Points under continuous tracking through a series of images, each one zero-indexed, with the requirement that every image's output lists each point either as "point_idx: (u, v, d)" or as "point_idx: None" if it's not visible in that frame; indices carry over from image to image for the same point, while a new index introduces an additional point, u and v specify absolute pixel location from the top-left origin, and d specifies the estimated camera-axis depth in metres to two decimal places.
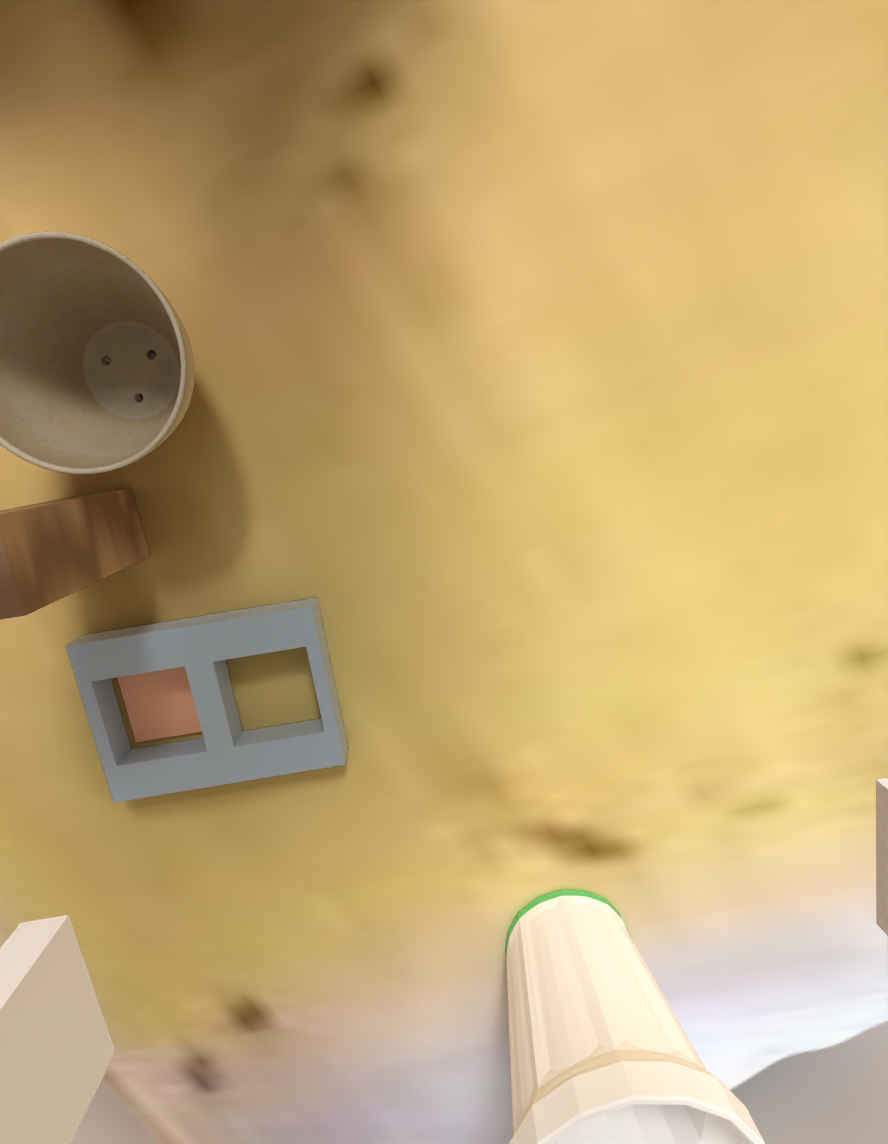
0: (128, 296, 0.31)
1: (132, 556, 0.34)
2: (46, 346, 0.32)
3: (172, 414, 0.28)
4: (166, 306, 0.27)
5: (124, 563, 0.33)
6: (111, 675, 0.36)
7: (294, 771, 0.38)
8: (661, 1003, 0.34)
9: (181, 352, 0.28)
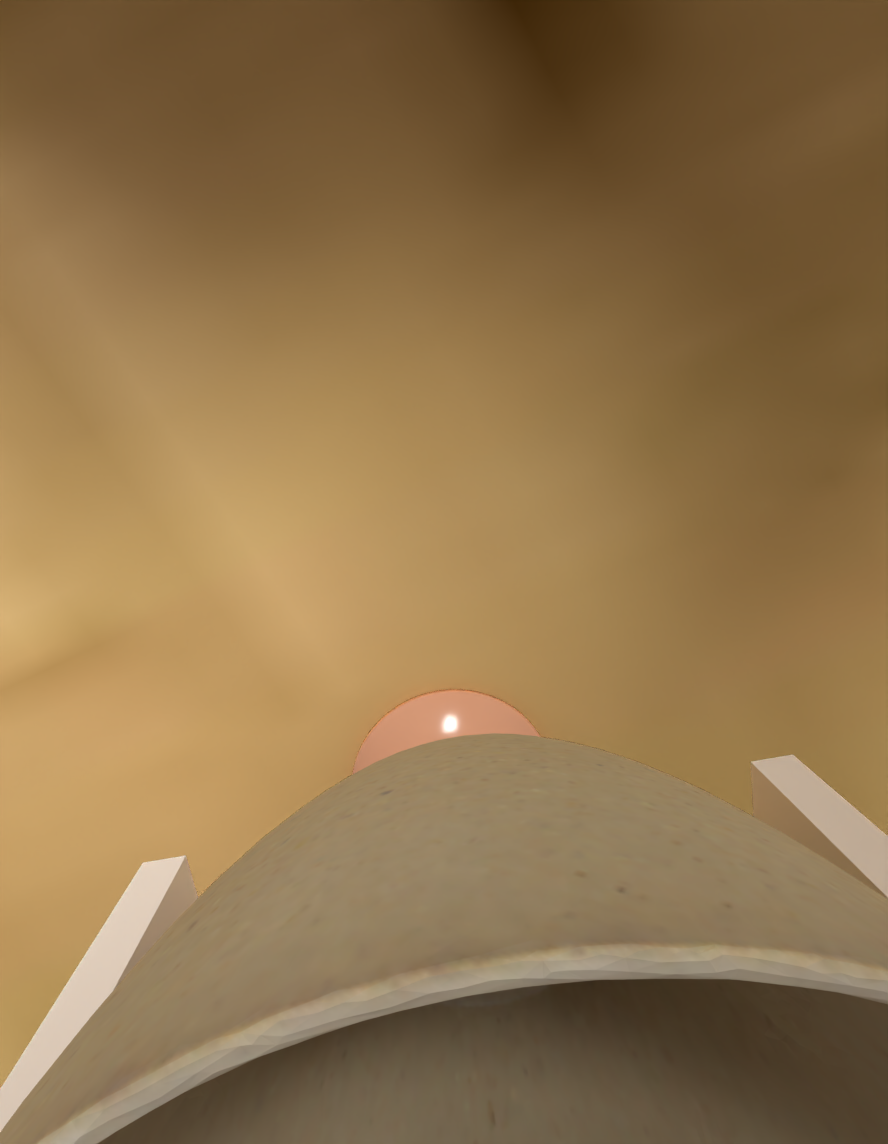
0: None
1: None
2: None
3: None
4: None
5: None
6: None
7: None
8: None
9: None
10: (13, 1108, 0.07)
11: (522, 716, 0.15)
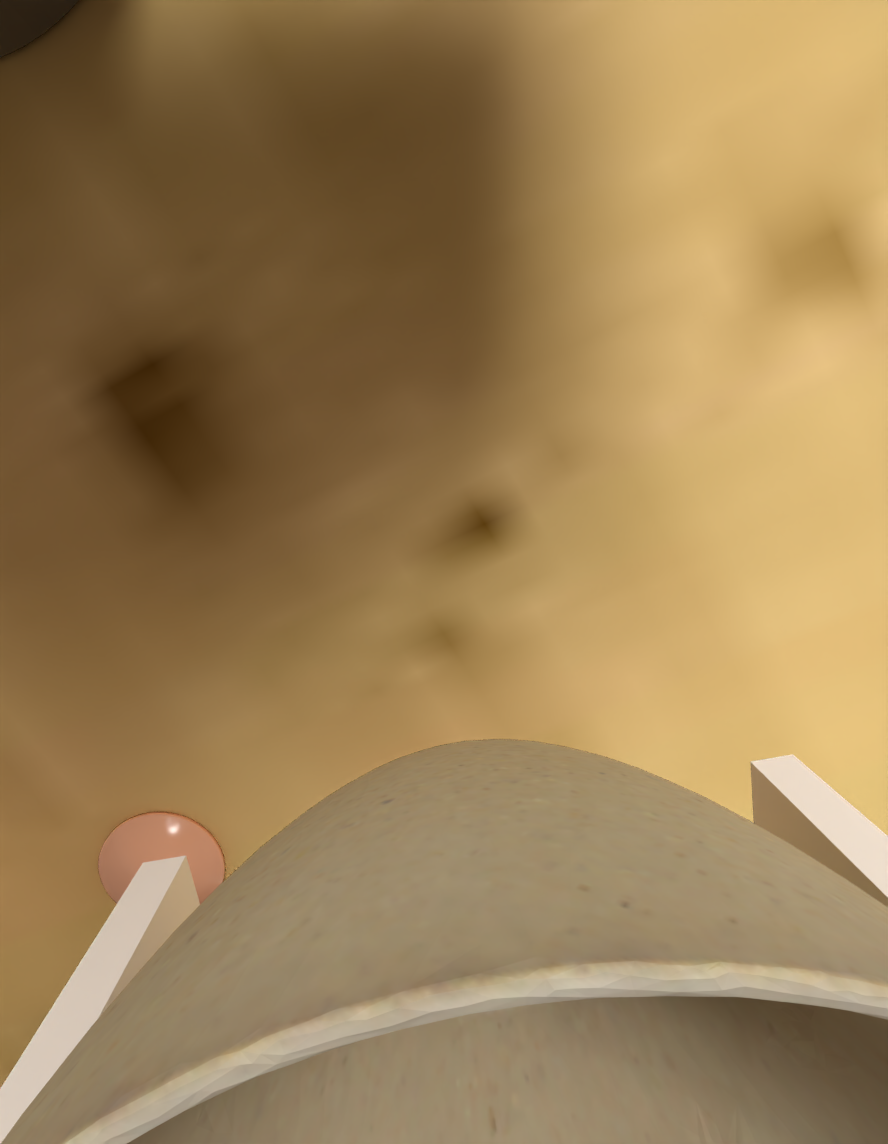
0: None
1: None
2: None
3: None
4: None
5: None
6: None
7: None
8: None
9: None
10: (13, 1108, 0.07)
11: (199, 828, 0.25)
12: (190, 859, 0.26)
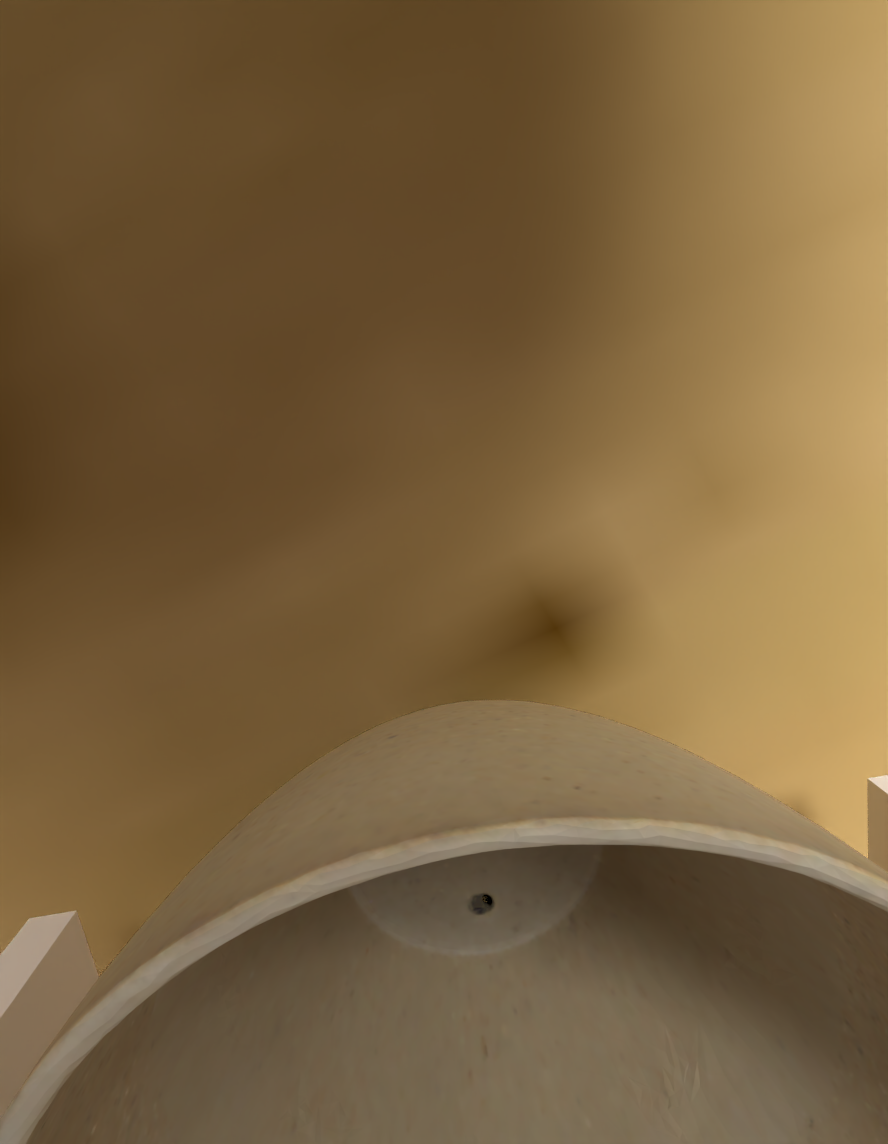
0: None
1: None
2: None
3: None
4: None
5: None
6: None
7: None
8: None
9: None
10: None
11: None
12: None
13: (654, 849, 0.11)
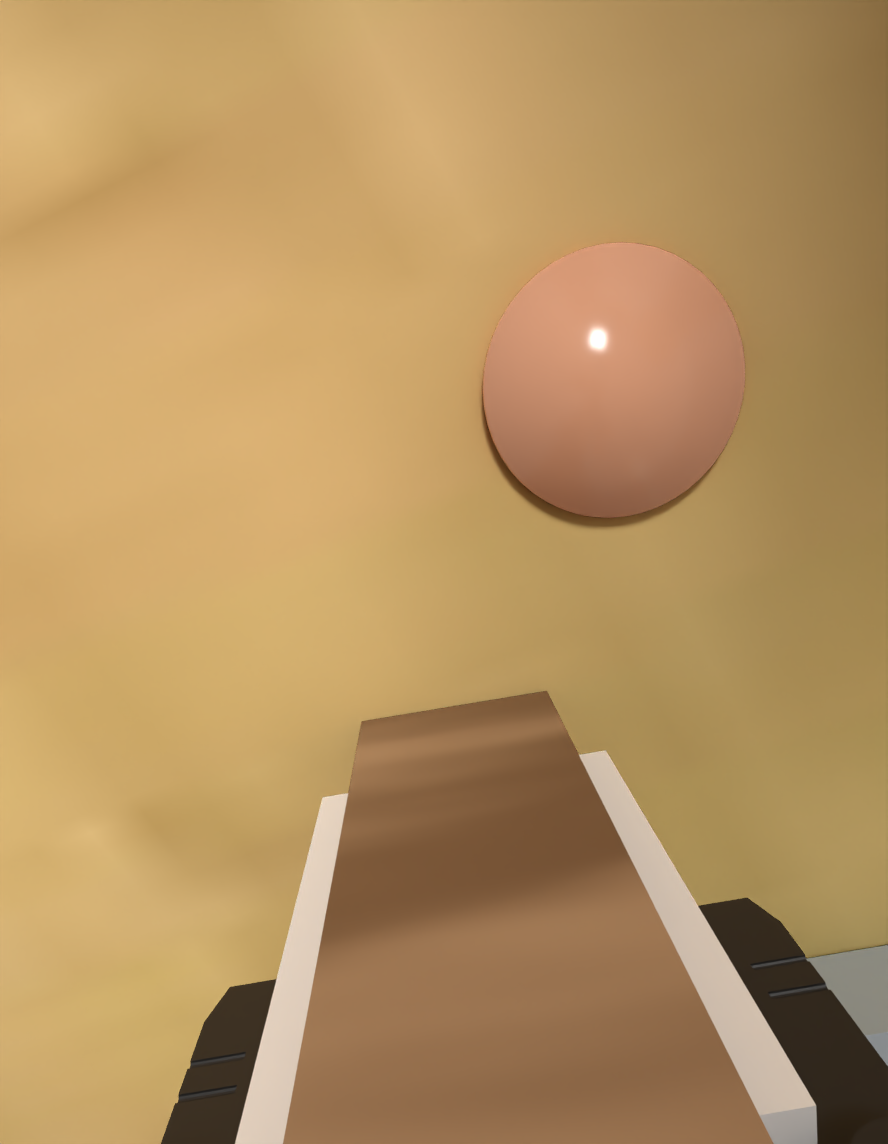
0: None
1: None
2: None
3: None
4: None
5: None
6: None
7: None
8: None
9: None
10: (300, 976, 0.08)
11: (711, 283, 0.12)
12: (680, 362, 0.12)
13: None
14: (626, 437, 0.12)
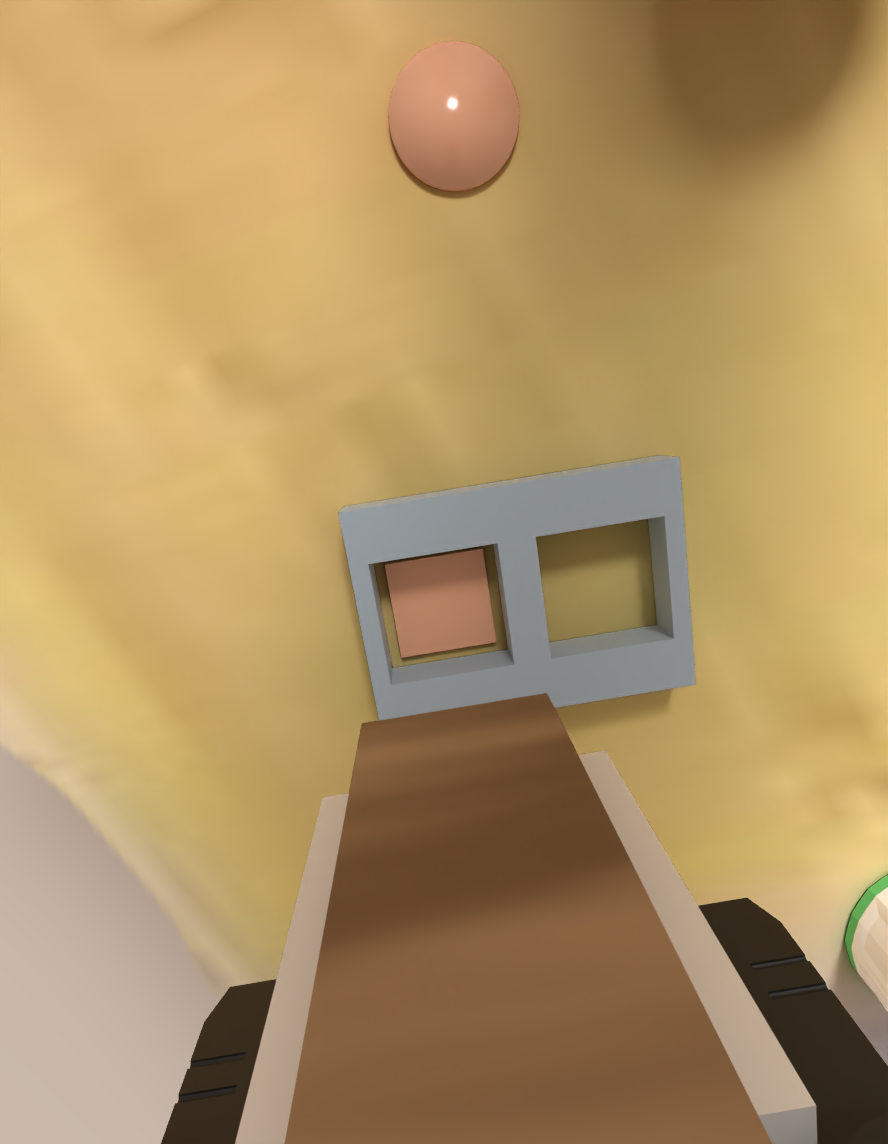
0: None
1: None
2: None
3: None
4: None
5: None
6: (396, 555, 0.26)
7: (627, 693, 0.28)
8: None
9: None
10: (300, 976, 0.08)
11: (499, 63, 0.24)
12: (486, 104, 0.24)
13: None
14: (461, 145, 0.24)
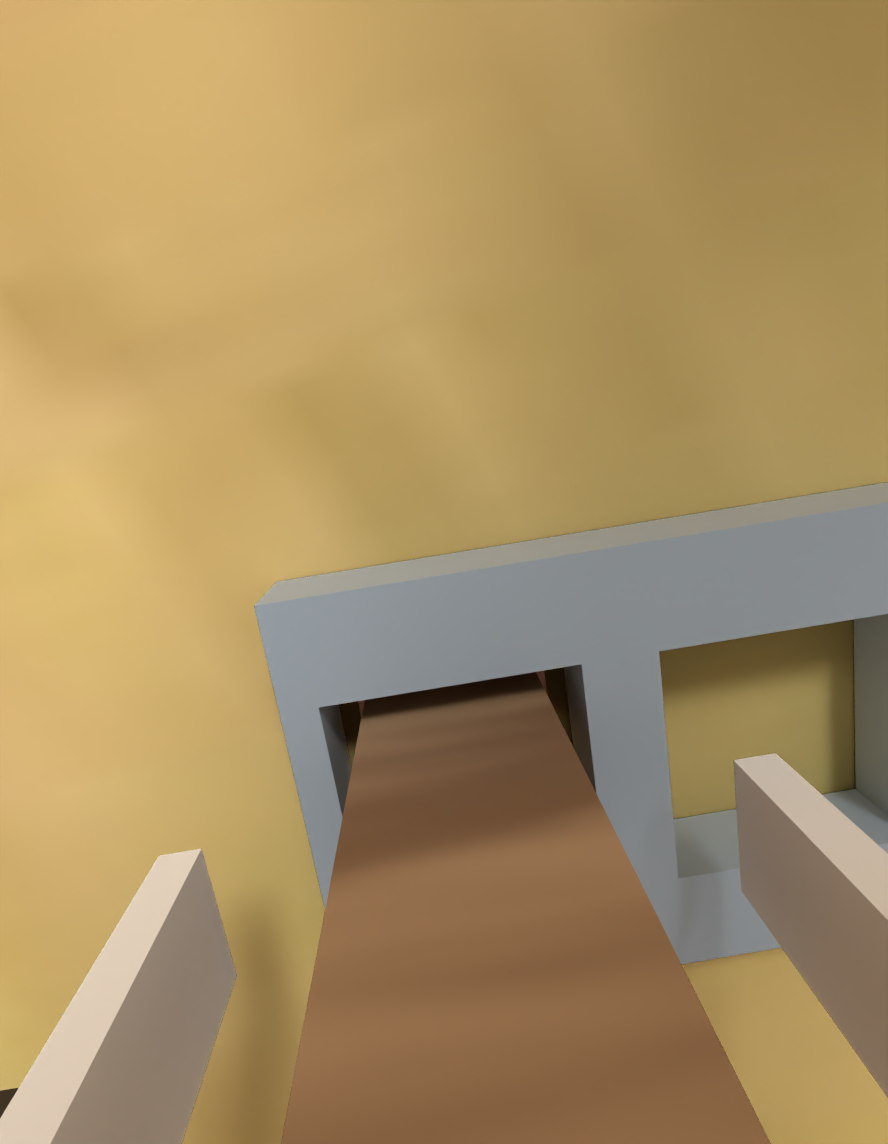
0: None
1: None
2: None
3: None
4: None
5: None
6: (376, 690, 0.13)
7: None
8: None
9: None
10: (40, 1093, 0.07)
11: None
12: None
13: None
14: None
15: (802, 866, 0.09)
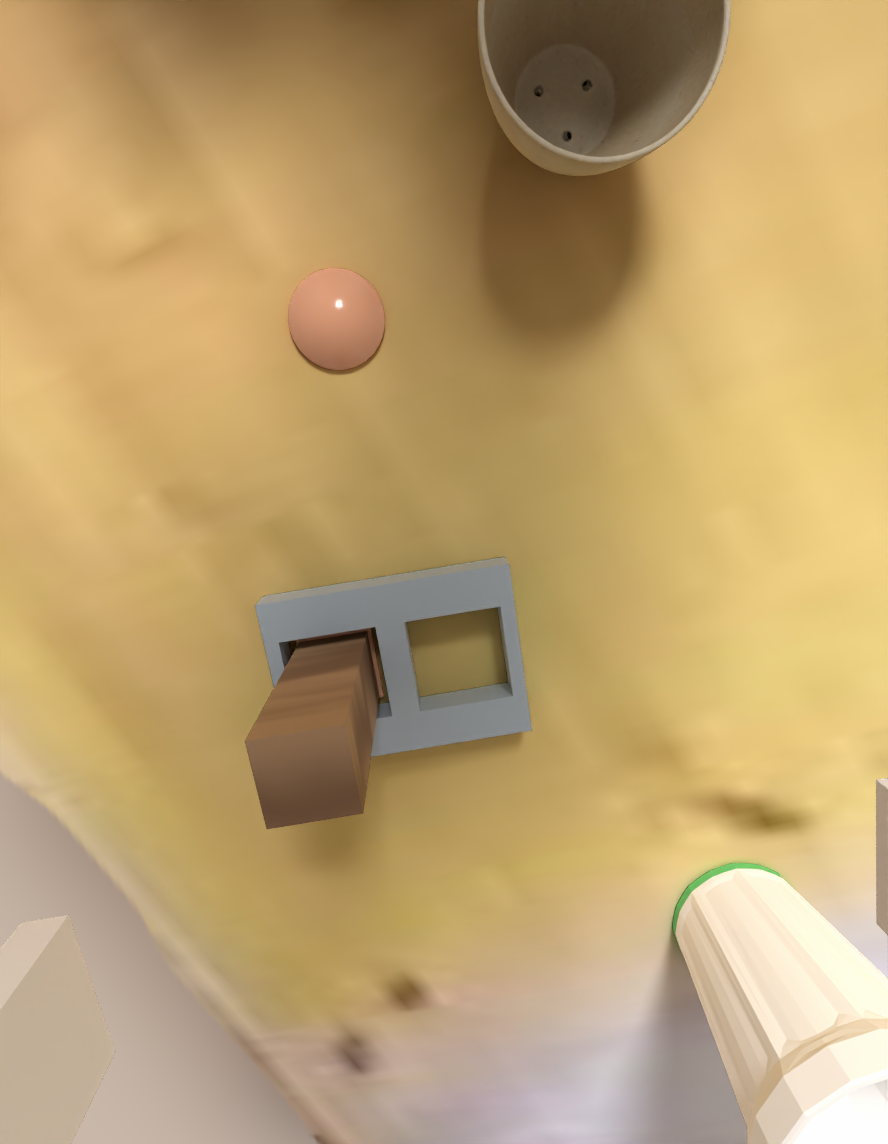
0: None
1: (376, 703, 0.35)
2: (503, 57, 0.29)
3: (705, 91, 0.25)
4: None
5: (375, 713, 0.34)
6: (299, 636, 0.35)
7: (479, 737, 0.37)
8: (880, 974, 0.33)
9: (727, 15, 0.25)
10: None
11: (368, 282, 0.33)
12: (359, 310, 0.33)
13: (633, 81, 0.30)
14: (342, 338, 0.33)
15: None
